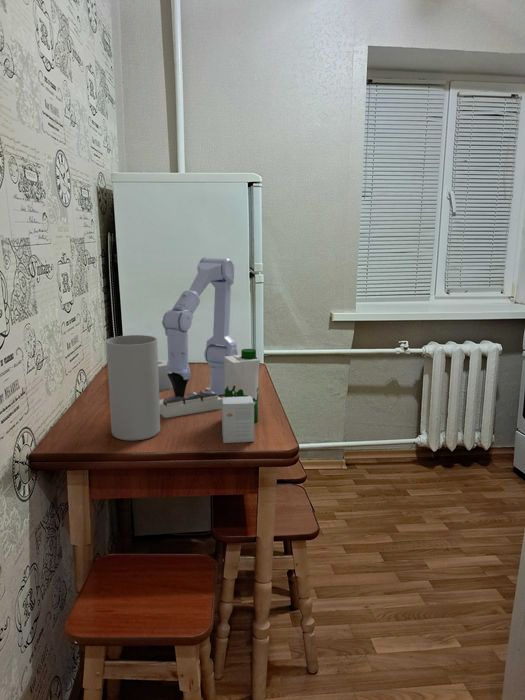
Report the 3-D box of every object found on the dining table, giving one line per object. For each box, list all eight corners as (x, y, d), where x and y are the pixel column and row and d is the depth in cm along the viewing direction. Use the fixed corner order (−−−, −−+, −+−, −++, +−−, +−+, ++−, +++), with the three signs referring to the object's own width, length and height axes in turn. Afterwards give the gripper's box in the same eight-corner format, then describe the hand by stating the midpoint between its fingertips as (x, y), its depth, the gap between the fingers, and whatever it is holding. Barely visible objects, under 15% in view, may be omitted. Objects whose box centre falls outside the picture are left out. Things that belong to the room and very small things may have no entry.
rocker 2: (196, 395, 155) (195, 391, 154) (199, 398, 152) (198, 393, 152) (182, 400, 153) (181, 396, 152) (186, 403, 151) (185, 398, 150)
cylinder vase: (162, 439, 132) (159, 343, 127) (112, 444, 129) (106, 346, 123) (158, 422, 144) (154, 334, 138) (111, 426, 140) (106, 336, 135)
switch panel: (223, 399, 164) (223, 387, 163) (234, 406, 157) (234, 393, 157) (155, 409, 154) (155, 397, 153) (164, 418, 147) (163, 404, 146)
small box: (252, 433, 136) (252, 395, 134) (254, 442, 131) (254, 402, 129) (221, 435, 135) (221, 396, 133) (222, 443, 130) (222, 403, 128)
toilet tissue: (186, 385, 179) (186, 361, 177) (153, 393, 170) (152, 367, 168) (172, 379, 185) (171, 356, 183) (139, 387, 176) (137, 362, 175)
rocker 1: (178, 398, 152) (177, 394, 152) (182, 401, 150) (181, 396, 149) (164, 403, 150) (163, 398, 150) (167, 405, 148) (166, 401, 147)
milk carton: (262, 422, 144) (262, 352, 140) (231, 426, 141) (231, 355, 137) (250, 412, 152) (250, 346, 148) (221, 416, 149) (220, 348, 144)
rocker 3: (212, 396, 157) (213, 391, 157) (216, 398, 155) (217, 393, 155) (199, 395, 155) (200, 390, 155) (202, 397, 153) (203, 392, 153)
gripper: (156, 348, 152) (158, 392, 155) (173, 358, 140) (174, 406, 143) (179, 346, 155) (180, 389, 158) (197, 356, 143) (198, 402, 146)
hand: (179, 397), depth 151 cm, fingers closed, pressing on rocker 1
